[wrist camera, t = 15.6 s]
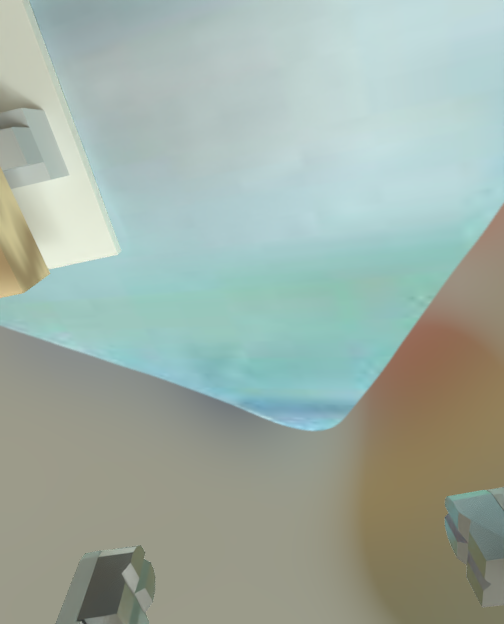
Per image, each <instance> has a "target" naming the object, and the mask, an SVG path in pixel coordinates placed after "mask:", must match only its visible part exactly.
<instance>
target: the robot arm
mask: <svg viewBox="0 0 504 624" xmlns="http://www.w3.org/2000/svg"><path fill="white" fill-rule="evenodd" d="M445 507H446V509H447V510H448V514H447V515H446V517H445V528H446V531H447V536H448V539H449V542H450V544H451V547H452V549H453V551H454V553H455V555H456V557H457V558H458V559H459V560H461V561H462V562H463V563H465V564H466V565H467V579H468V581H469V583H470V585H471V587H472V589H473V591H474V593H475V595H476V597H477V598H478V601H479V602H480V604H481V606H482V607H489V606H498V605H504V487H502V488H497V489H491V490H481V491H475V492H470V493H464V494H458V495H453V496H447V497H446V499H445ZM144 556H145V551H144V549H143V548H142V546H141V545H138V546H132V547H125V548H118V549H111V550H103V551H96V552H90V553H85V554H84V556H83V557H82V558H81V560H80V562H79V564H78V567H77V569H76V572H75V575H74V577H73V580H72V582H71V585H70V587H69V590H68V593H67V595H66V598H65V600H64V603H63V605H62V608H61V611H60V613H59V616H58V618H57V621H56V623H55V624H149V620H148V618H147V615H146V613H145V612H146V611H147V610H148V608H149V607H150V605H151V604H152V603H153V599H154V594H155V573H154V568H153V567H152V564H151V562H149V561H147V560H145V559H144Z"/></svg>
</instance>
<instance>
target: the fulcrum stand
mask: <svg viewBox="0 0 504 624" xmlns="http://www.w3.org/2000/svg"><path fill="white" fill-rule="evenodd" d="M0 167H1V169H2V171H3V173H4V175H5V178H6V180H7V182H8V184H9V186H10V188H11V191H12V193H13V195H14V197H15V199H16V201H17V203H18V206H19V208H20V210H21V212H22V214H23V216H24V218H25V221H26V223H27V225H28V227H29V229H30V231H31V233H32V236H33V238H34V240H35V242H36V244H37V246H38V248H39V251H40V253H41V255H42V257H43V259H44V261H45V264H46V266H47V268H48V269H53V268H57V267H62V266H67V265H71V264H76V263H81V262H85V261H90V260H95V259H100V258H104V257H109V256H114V255H118V254H119V253H120V252H121V248H120V246H119V243H118V240H117V238H116V235H115V232H114V229H113V227H112V224H111V221H110V219H109V216H108V213H107V211H106V208H105V205H104V202H103V200H102V197H101V194H100V192H99V189H98V186H97V183H96V181H95V178H94V175H93V173H92V170H91V167H90V165H89V162H88V159H87V156H86V154H85V151H84V148H83V146H82V143H81V140H80V138H79V135H78V132H77V129H76V127H75V124H74V121H73V119H72V116H71V113H70V110H69V108H68V105H67V102H66V100H65V97H64V94H63V92H62V89H61V86H60V83H59V81H58V78H57V75H56V73H55V70H54V67H53V65H52V62H51V59H50V56H49V54H48V51H47V48H46V46H45V43H44V40H43V37H42V35H41V32H40V29H39V27H38V24H37V21H36V19H35V16H34V13H33V10H32V8H31V5H30V2H29V0H0Z"/></svg>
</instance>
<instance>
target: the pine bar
mask: <svg viewBox="0 0 504 624" xmlns="http://www.w3.org/2000/svg"><path fill="white" fill-rule="evenodd" d="M49 274H50V272H49V270H48V268H47V266H46V264H45V261H44V259H43V257H42V255H41V253H40V251H39V248H38V246H37V244H36V242H35V240H34V238H33V236H32V233H31V231H30V229H29V227H28V225H27V223H26V221H25V218H24V216H23V214H22V212H21V210H20V208H19V206H18V203H17V201H16V199H15V197H14V195H13V193H12V191H11V188H10V186H9V184H8V182H7V180H6V178H5V175H4V173H3V171H2V169H1V167H0V298H2V297H7V296H12V295H17V294H21V293H24V292H26V291H27V290H28V289H30V288H31V287H33V286H34V285H35V284H37V283H38V282H39V281H41V280H42V279H44V278H45V277H46V276H48V275H49Z"/></svg>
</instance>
